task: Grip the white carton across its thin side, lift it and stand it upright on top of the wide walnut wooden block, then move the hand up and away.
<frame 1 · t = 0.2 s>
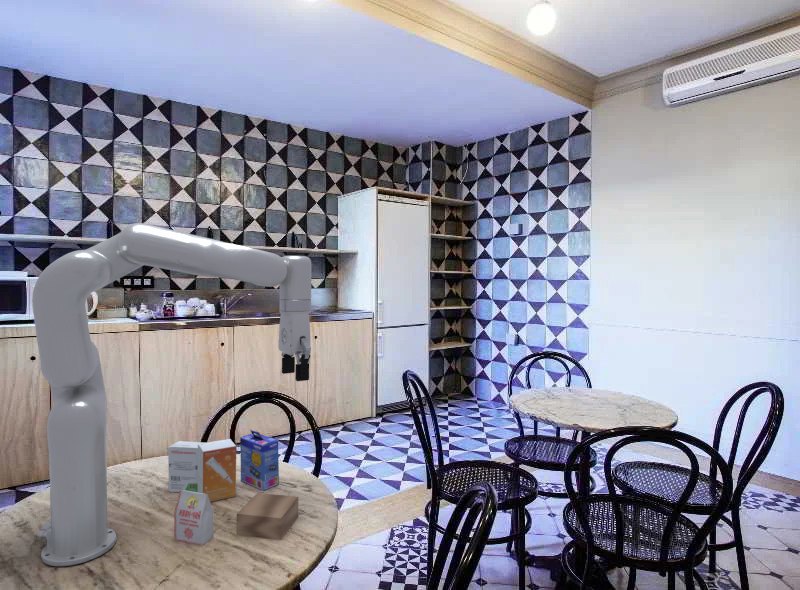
hand: (295, 376, 119), 31 cm above the table, tool pointing down, fingers open, 9 cm apart
ink cartridge box: (259, 483, 130), on the table
small box: (216, 496, 122), on the table
base block: (268, 526, 108), on the table
ink box: (188, 489, 126), on the table
white carton: (194, 539, 103), on the table
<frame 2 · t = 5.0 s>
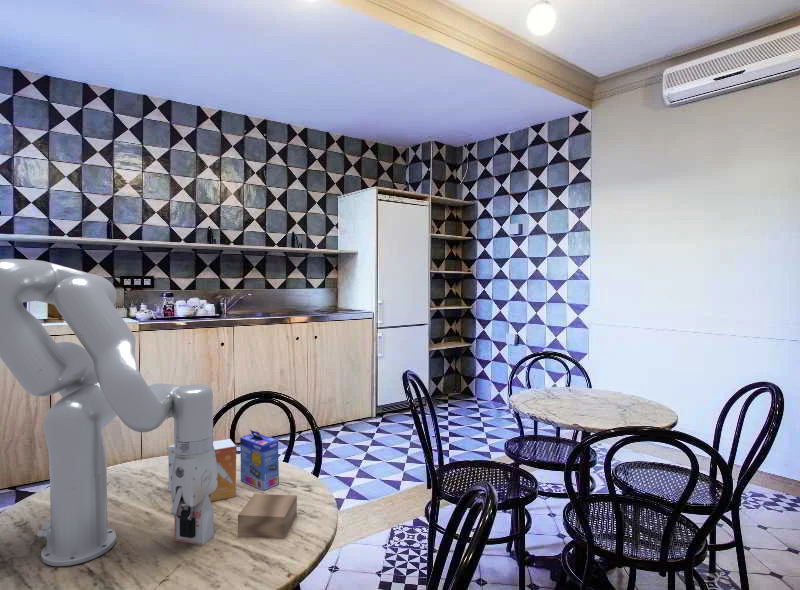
hand: (194, 529, 103), 2 cm above the table, tool pointing down, fingers closed on white carton, 4 cm apart
white carton: (194, 539, 103), on the table, touching gripper
everything else where it was.
when the fingers open (8 cm above the table, at t = 11.3 s): white carton drops 2 cm, resting on base block.
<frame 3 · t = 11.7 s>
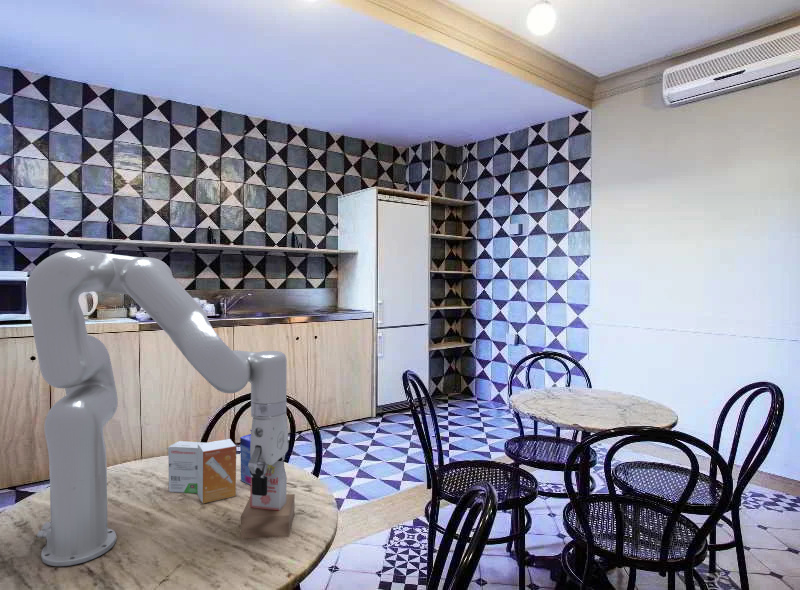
hand: (268, 485, 108), 9 cm above the table, tool pointing down, fingers open, 8 cm apart
base block: (268, 526, 108), on the table, touching white carton
white carton: (268, 506, 108), point 4 cm above the table, touching base block
everything else where it was.
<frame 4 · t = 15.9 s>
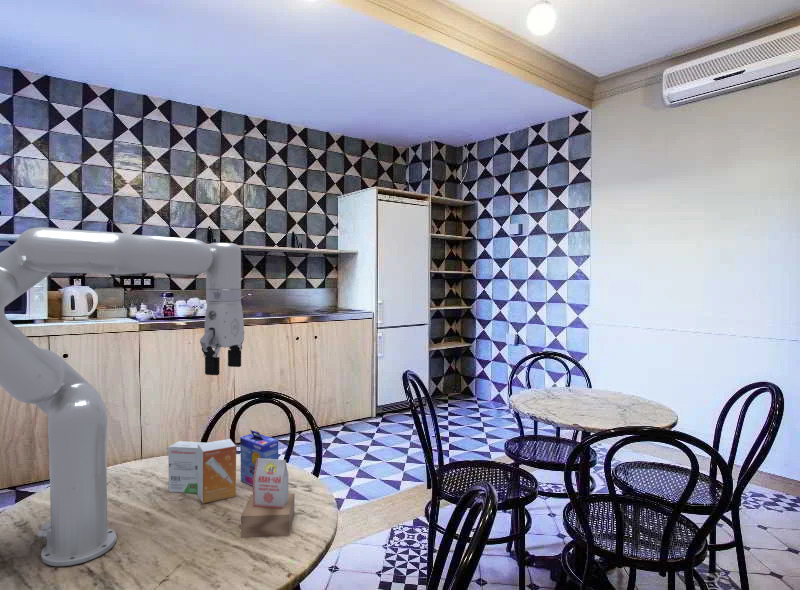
hand: (223, 370, 113), 33 cm above the table, tool pointing down, fingers open, 9 cm apart
at the end: white carton inside the target area on the base block (0.4 cm from its centre), point 4.8 cm above the base block's base; white carton tilted 1°; white carton touching base block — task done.
